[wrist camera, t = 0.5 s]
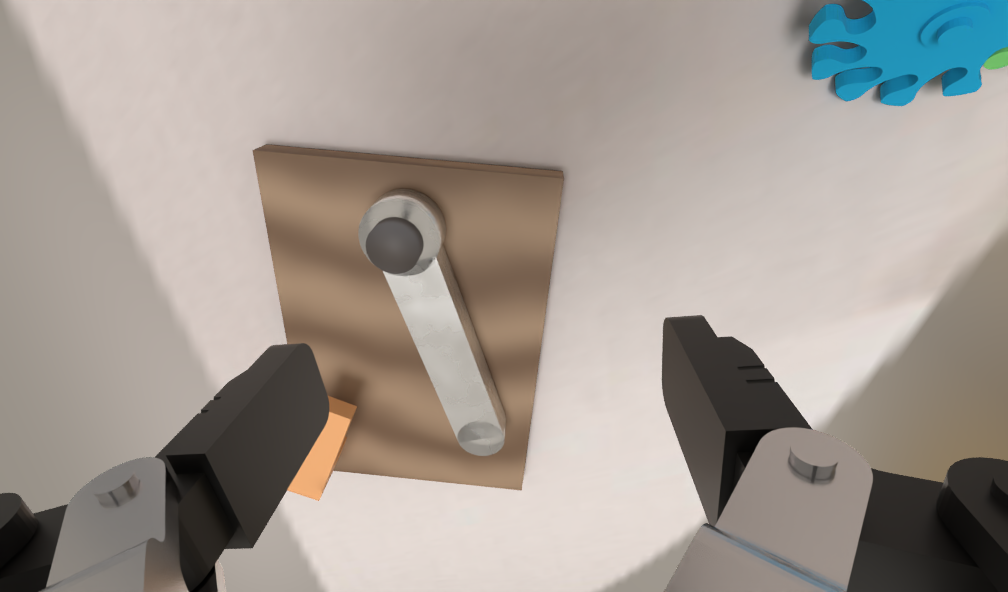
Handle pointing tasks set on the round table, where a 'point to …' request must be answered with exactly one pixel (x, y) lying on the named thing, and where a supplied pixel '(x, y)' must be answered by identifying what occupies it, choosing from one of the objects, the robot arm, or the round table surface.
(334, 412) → the block
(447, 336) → the lever
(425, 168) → the base plate
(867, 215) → the round table surface
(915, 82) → the gear
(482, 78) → the round table surface
